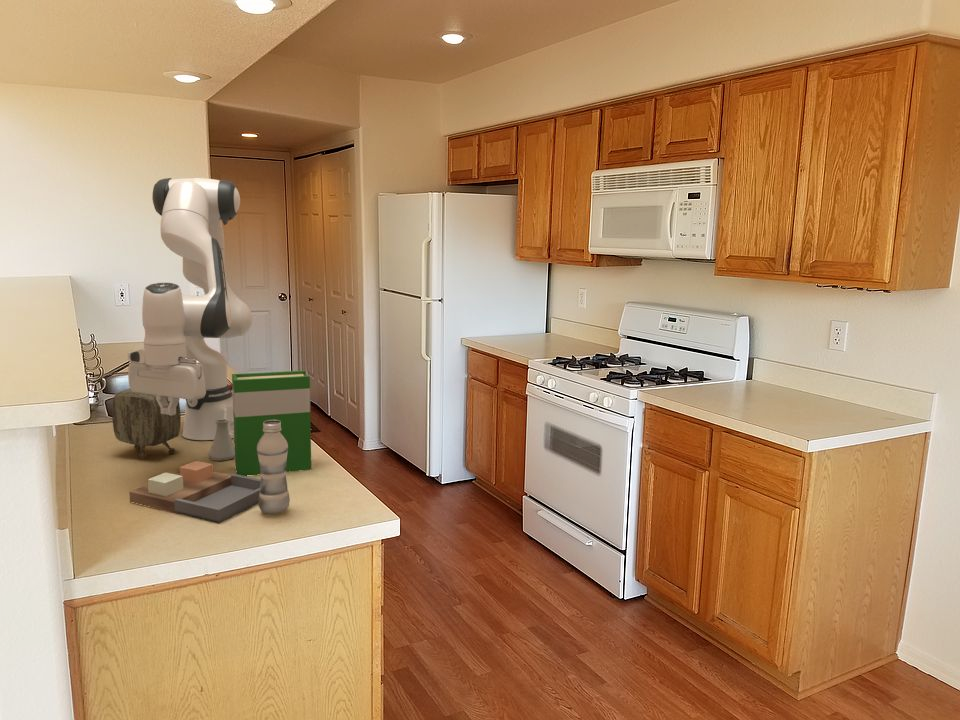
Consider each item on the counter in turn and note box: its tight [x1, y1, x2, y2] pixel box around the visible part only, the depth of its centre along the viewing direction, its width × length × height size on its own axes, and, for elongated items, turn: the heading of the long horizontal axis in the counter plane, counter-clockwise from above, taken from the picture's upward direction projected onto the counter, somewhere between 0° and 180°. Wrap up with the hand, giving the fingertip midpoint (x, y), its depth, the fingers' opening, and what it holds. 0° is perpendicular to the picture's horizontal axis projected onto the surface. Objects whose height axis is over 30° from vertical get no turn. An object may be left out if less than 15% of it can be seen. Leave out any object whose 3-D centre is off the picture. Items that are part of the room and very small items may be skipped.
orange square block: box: [179, 460, 214, 483], centre depth 169 cm, size 5×5×3 cm
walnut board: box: [129, 471, 232, 514], centre depth 166 cm, size 18×13×2 cm
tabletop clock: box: [111, 387, 182, 459], centre depth 189 cm, size 14×9×25 cm, turn 75°
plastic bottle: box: [257, 420, 291, 515], centre depth 155 cm, size 6×7×20 cm
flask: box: [207, 419, 235, 462], centre depth 191 cm, size 7×7×10 cm
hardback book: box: [231, 370, 312, 477], centre depth 182 cm, size 18×7×24 cm, turn 112°
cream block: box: [147, 472, 183, 496], centre depth 161 cm, size 5×5×3 cm
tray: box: [174, 473, 261, 525], centre depth 161 cm, size 18×12×3 cm, turn 157°
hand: (168, 414), depth 169 cm, fingers closed
